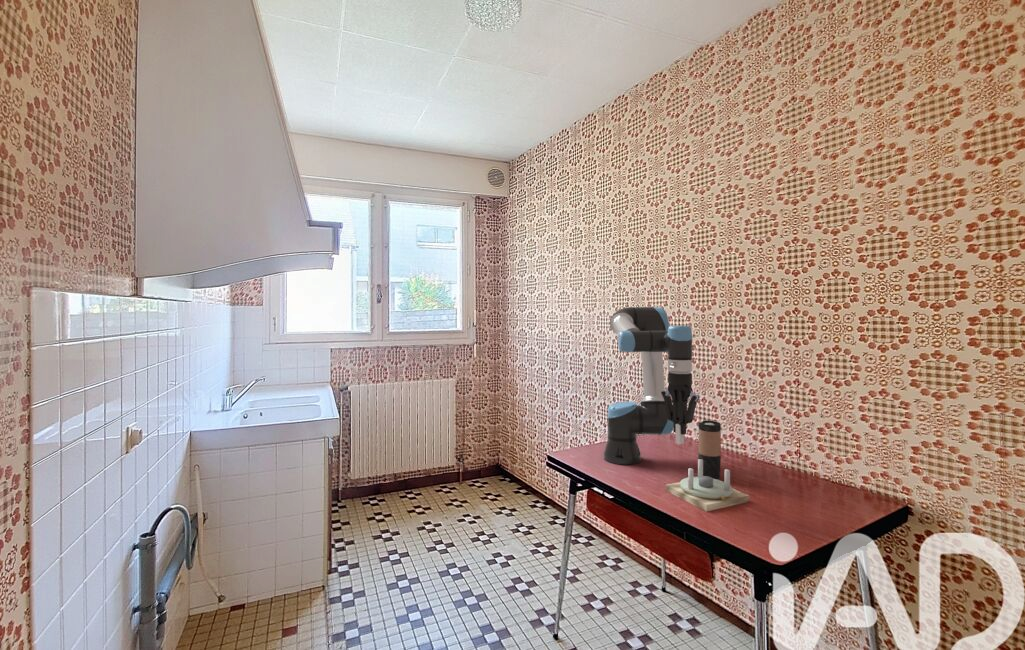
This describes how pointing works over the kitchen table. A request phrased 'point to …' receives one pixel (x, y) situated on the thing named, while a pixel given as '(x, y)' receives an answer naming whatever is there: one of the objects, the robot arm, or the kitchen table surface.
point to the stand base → (707, 503)
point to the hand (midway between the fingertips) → (679, 443)
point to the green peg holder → (706, 484)
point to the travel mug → (710, 448)
